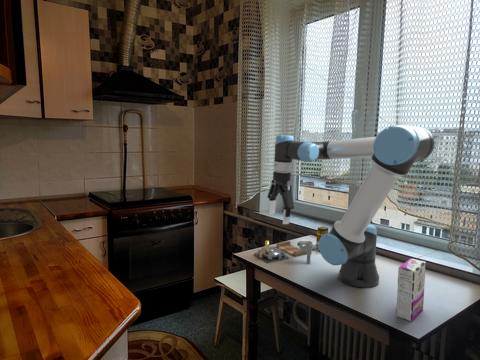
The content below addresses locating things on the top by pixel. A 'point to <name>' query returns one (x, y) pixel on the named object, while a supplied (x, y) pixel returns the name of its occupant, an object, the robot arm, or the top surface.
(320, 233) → the condiment
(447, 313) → the top surface
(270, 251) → the grey metal machine part
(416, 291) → the candy bar box
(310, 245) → the mechanical component
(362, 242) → the robot arm
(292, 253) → the seat
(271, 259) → the base
